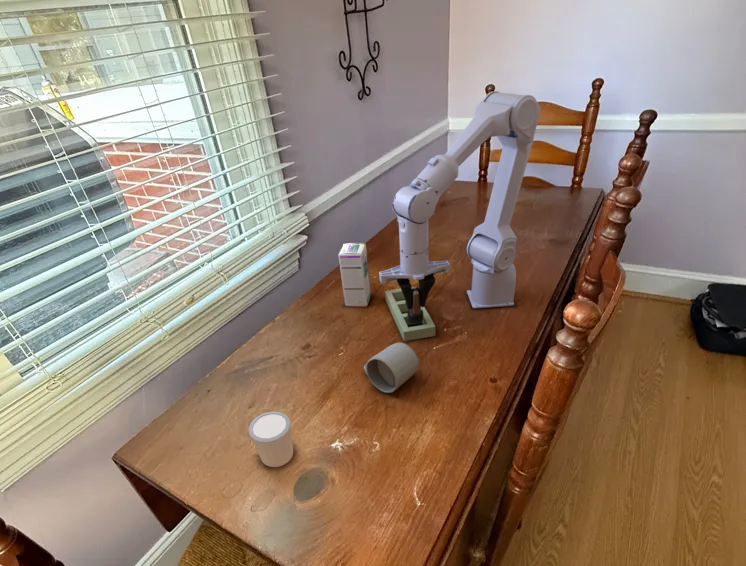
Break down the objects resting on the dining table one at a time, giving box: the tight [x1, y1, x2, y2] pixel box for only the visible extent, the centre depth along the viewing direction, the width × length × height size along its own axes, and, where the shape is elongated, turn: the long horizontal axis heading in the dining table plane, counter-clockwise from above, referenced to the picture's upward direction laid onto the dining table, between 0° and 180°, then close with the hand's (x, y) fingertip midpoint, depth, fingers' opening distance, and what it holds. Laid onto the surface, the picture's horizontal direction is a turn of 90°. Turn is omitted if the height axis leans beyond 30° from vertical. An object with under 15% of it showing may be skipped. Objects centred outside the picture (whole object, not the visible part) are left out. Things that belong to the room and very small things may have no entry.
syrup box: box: [337, 242, 372, 307], centre depth 115 cm, size 6×6×14 cm
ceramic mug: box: [363, 341, 420, 394], centre depth 92 cm, size 11×8×8 cm
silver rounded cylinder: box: [406, 286, 423, 324], centre depth 103 cm, size 4×4×8 cm
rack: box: [384, 286, 437, 342], centre depth 111 cm, size 7×18×2 cm, turn 8°
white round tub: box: [248, 411, 294, 468], centre depth 80 cm, size 7×7×7 cm
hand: (415, 306), depth 103 cm, fingers closed on silver rounded cylinder, 2 cm apart
